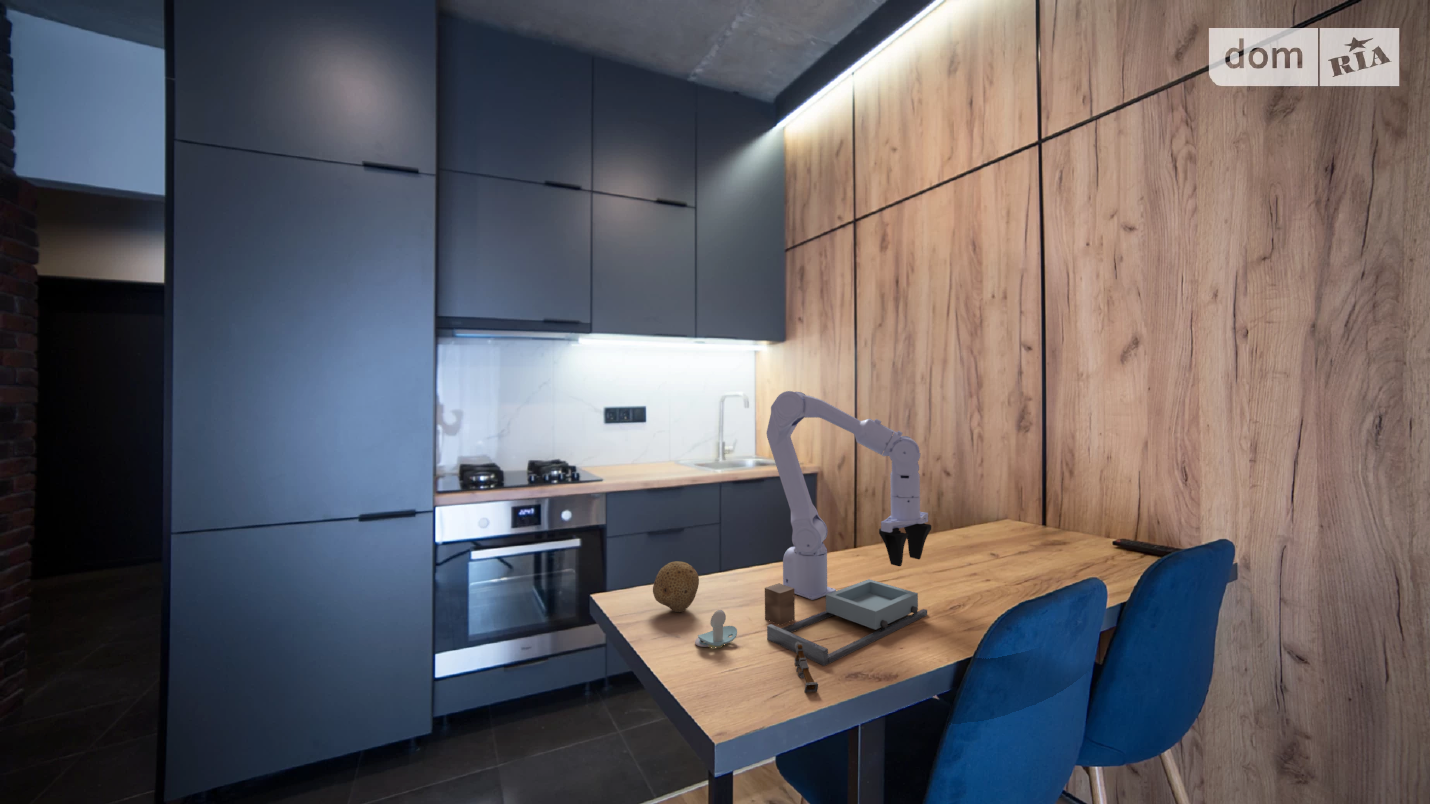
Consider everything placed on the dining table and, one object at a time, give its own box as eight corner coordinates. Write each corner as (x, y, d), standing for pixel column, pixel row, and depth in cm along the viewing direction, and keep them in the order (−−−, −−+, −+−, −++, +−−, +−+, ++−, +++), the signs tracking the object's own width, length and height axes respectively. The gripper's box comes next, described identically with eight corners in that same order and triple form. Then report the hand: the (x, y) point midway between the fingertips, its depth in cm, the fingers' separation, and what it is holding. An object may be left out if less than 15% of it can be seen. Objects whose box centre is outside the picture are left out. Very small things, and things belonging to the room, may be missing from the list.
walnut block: (765, 619, 103) (764, 587, 103) (779, 613, 106) (779, 583, 106) (780, 625, 100) (779, 593, 100) (794, 619, 103) (794, 588, 103)
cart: (822, 610, 104) (822, 593, 104) (865, 593, 113) (865, 578, 113) (879, 631, 94) (879, 612, 94) (921, 610, 103) (921, 594, 103)
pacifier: (687, 645, 93) (709, 656, 89) (686, 608, 93) (708, 617, 89) (719, 633, 98) (741, 643, 93) (718, 598, 98) (740, 606, 93)
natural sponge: (661, 624, 101) (660, 571, 101) (647, 608, 109) (646, 558, 110) (705, 616, 105) (705, 564, 105) (688, 600, 113) (688, 553, 113)
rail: (767, 639, 94) (767, 625, 94) (871, 597, 114) (871, 586, 114) (824, 666, 85) (824, 650, 85) (927, 615, 104) (927, 602, 104)
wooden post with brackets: (800, 658, 86) (803, 637, 84) (815, 704, 78) (818, 683, 76) (789, 659, 85) (792, 638, 83) (803, 705, 78) (806, 684, 76)
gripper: (903, 502, 104) (904, 573, 104) (941, 494, 113) (942, 559, 113) (871, 497, 109) (872, 565, 109) (910, 490, 118) (911, 552, 118)
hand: (905, 561), depth 111 cm, fingers open, 7 cm apart
